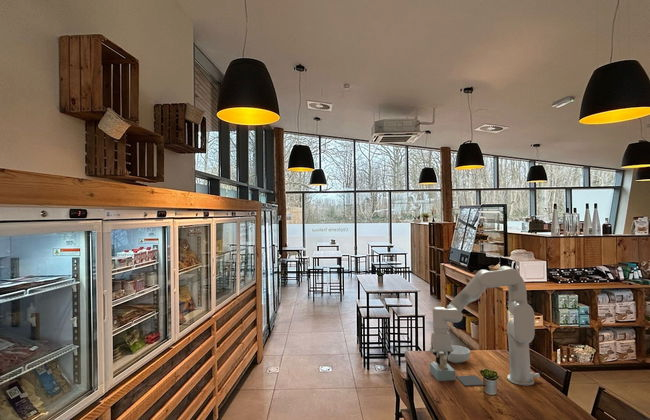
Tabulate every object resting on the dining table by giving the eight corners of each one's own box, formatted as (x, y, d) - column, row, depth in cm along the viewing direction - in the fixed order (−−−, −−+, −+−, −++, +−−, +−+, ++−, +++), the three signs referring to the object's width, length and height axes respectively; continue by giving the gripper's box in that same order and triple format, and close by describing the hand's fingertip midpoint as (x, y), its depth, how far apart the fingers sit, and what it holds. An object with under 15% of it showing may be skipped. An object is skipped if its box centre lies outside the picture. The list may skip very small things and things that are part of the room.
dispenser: (446, 371, 200) (446, 360, 200) (455, 380, 188) (454, 369, 188) (430, 371, 199) (429, 361, 199) (437, 381, 187) (437, 370, 188)
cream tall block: (443, 373, 197) (442, 351, 197) (447, 378, 190) (446, 355, 191) (437, 373, 197) (436, 351, 197) (441, 378, 190) (440, 356, 191)
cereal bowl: (472, 367, 204) (471, 355, 204) (442, 365, 208) (441, 353, 208) (468, 356, 220) (468, 345, 221) (440, 354, 225) (440, 343, 225)
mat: (475, 376, 192) (475, 375, 192) (485, 385, 181) (485, 384, 181) (455, 377, 191) (455, 376, 191) (464, 386, 180) (464, 385, 180)
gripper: (452, 327, 199) (453, 360, 198) (423, 328, 198) (424, 361, 197) (457, 331, 191) (459, 365, 190) (428, 332, 190) (429, 367, 190)
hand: (441, 363), depth 194 cm, fingers closed on cream tall block, 3 cm apart
